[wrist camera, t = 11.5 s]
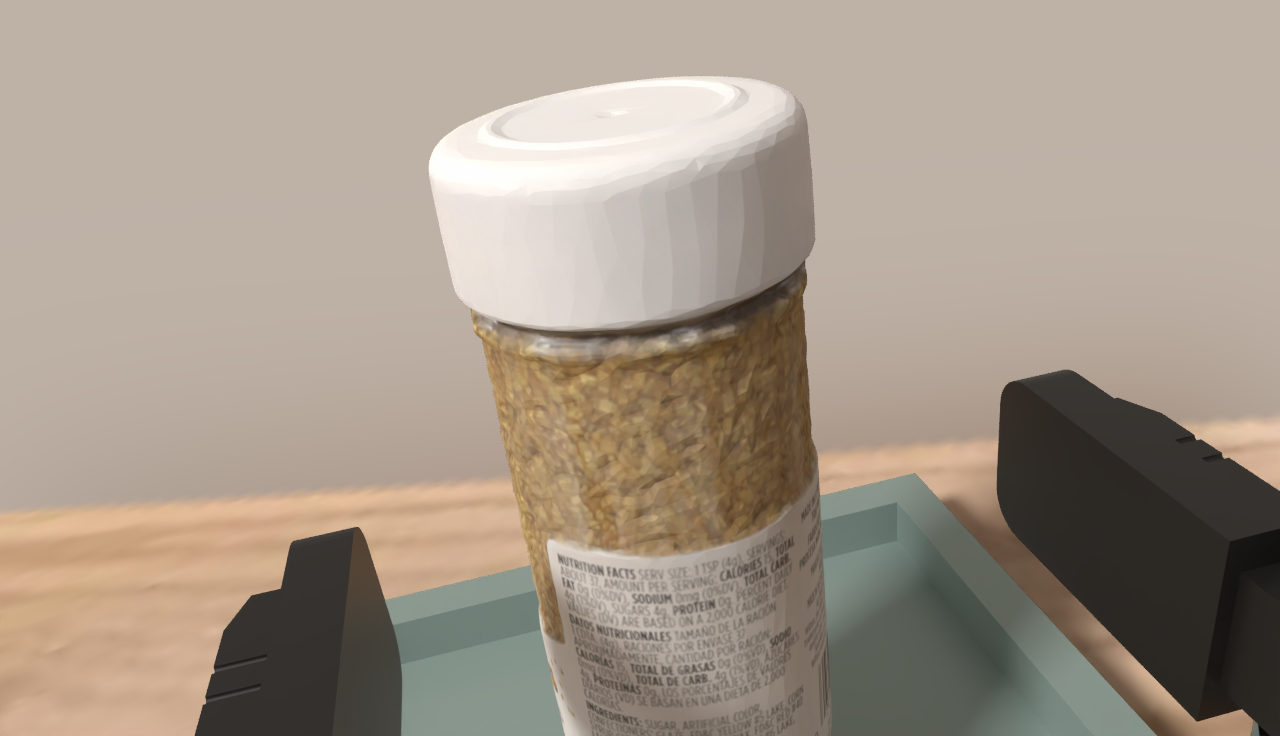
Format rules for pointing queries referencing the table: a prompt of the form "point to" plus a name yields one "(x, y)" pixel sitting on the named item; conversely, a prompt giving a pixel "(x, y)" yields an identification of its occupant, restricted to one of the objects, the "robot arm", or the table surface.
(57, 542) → the table surface
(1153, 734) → the tray
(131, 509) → the table surface
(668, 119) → the spice jar
